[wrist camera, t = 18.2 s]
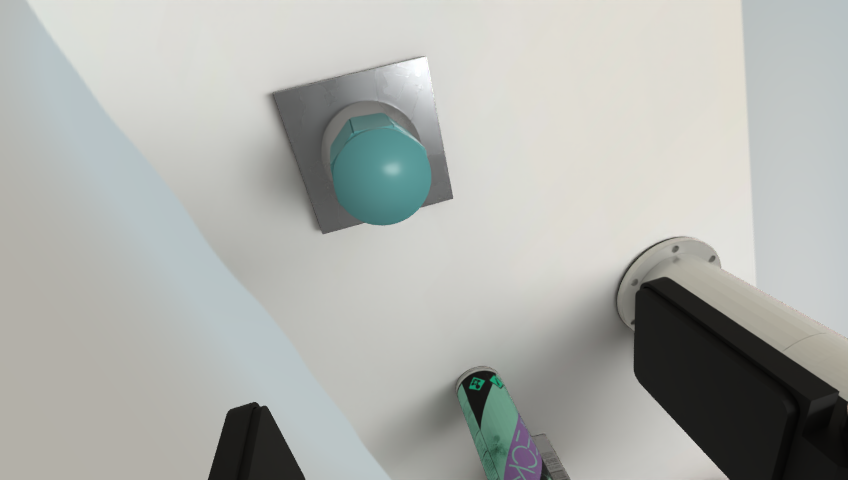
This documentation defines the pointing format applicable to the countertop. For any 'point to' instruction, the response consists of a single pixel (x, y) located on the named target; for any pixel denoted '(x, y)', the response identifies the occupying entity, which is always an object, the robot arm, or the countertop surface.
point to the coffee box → (550, 458)
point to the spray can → (498, 428)
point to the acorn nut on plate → (351, 97)
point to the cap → (379, 170)
